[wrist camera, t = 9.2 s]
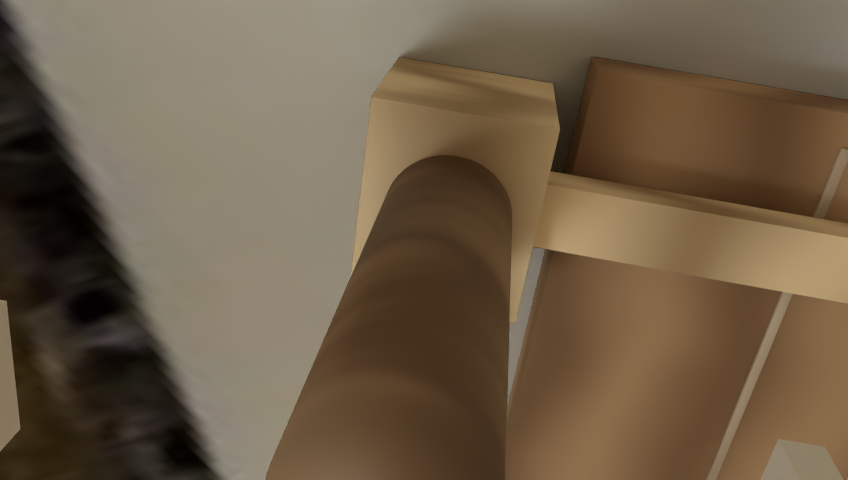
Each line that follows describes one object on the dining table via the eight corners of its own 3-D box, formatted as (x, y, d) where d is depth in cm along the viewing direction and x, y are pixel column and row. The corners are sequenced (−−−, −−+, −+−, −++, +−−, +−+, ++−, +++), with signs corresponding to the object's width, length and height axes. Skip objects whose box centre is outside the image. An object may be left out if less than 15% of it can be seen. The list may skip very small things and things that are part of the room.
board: (457, 615, 35) (453, 657, 33) (591, 56, 24) (597, 71, 22) (717, 668, 35) (728, 713, 33) (981, 122, 23) (1021, 144, 21)
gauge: (377, 224, 27) (214, 612, 13) (399, 57, 24) (224, 308, 10) (800, 300, 26) (1130, 799, 12) (868, 137, 24) (1395, 528, 9)
